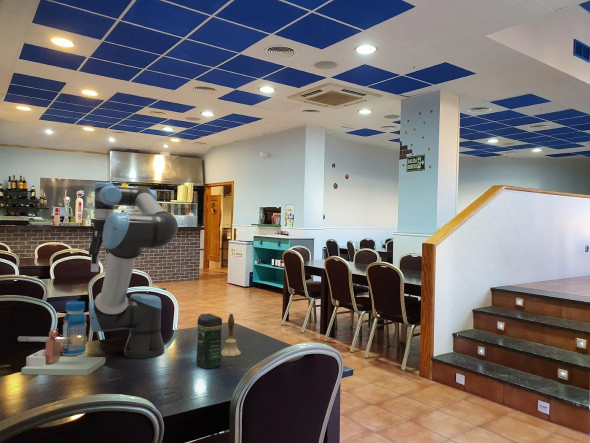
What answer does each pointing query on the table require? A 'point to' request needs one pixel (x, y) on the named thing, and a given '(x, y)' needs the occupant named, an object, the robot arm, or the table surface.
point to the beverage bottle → (74, 327)
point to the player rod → (55, 343)
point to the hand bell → (230, 341)
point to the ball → (41, 354)
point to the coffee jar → (209, 341)
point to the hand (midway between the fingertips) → (101, 270)
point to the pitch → (62, 365)
